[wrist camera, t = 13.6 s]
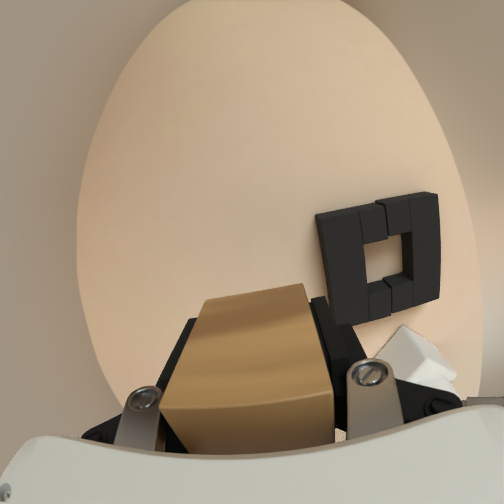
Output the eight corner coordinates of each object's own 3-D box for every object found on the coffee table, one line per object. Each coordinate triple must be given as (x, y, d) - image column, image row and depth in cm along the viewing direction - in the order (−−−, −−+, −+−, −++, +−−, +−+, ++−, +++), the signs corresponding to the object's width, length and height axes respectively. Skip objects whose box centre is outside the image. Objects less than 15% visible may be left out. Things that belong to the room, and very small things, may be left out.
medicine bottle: (398, 382, 30) (429, 447, 19) (363, 367, 29) (393, 442, 18) (433, 343, 28) (478, 402, 17) (401, 323, 27) (450, 390, 16)
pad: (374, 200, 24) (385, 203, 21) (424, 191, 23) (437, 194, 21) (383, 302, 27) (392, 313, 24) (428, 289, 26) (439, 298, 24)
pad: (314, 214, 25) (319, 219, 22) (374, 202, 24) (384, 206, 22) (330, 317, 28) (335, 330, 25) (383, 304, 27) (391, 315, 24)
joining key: (205, 299, 11) (156, 407, 5) (302, 282, 11) (333, 390, 5) (229, 372, 12) (209, 480, 6) (313, 359, 12) (335, 470, 6)
